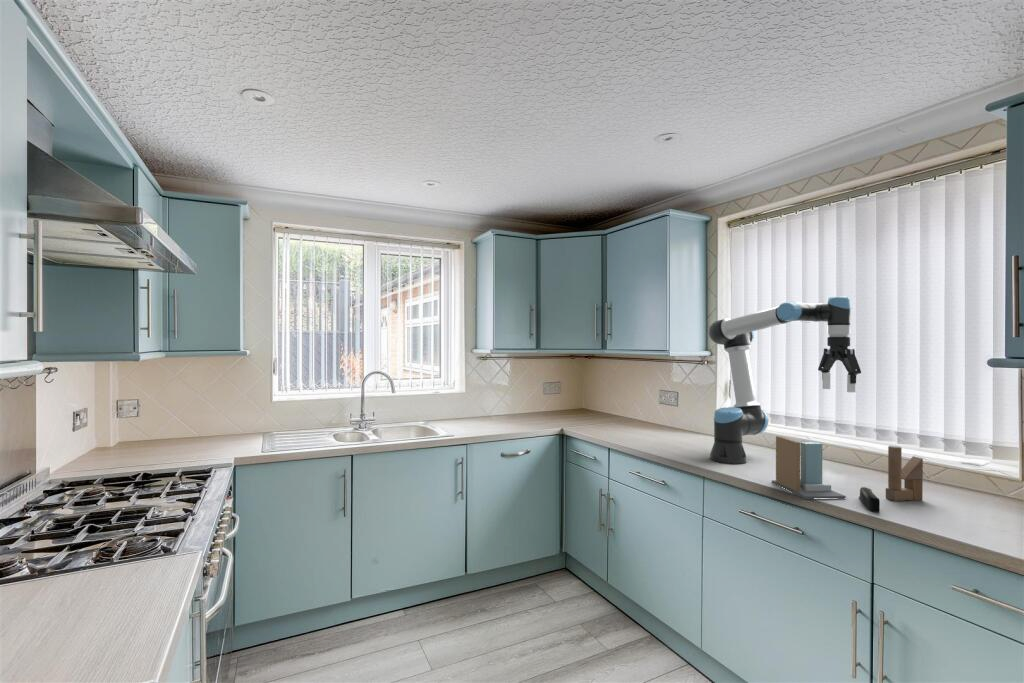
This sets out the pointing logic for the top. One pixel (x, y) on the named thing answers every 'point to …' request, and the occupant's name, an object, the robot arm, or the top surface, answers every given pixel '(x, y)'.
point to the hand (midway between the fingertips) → (838, 390)
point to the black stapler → (869, 499)
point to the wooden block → (904, 476)
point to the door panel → (811, 463)
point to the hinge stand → (796, 472)
